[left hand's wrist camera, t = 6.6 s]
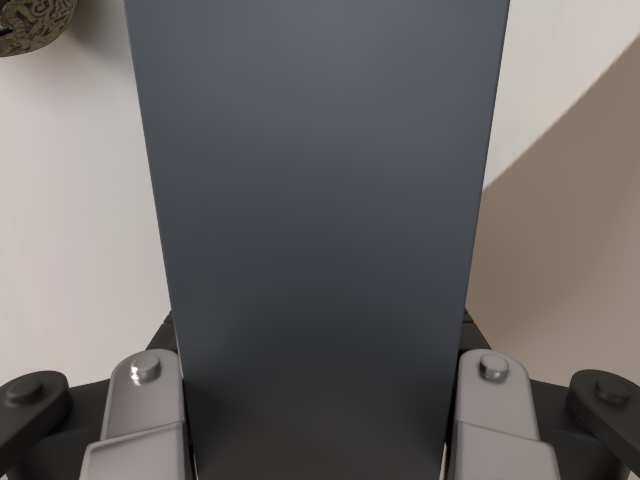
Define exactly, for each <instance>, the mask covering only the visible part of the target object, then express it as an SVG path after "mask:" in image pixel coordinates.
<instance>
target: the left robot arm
mask: <svg viewBox="0 0 640 480" xmlns="http://www.w3.org/2000/svg"><path fill="white" fill-rule="evenodd" d="M445 443H446V452H445V461H444V473H443V480H627V479H628V476H629V474H630V471H632V472H634V473H635V474H636V475H637V476H638V477H639V478H640V387H639V386H638V385H636V384H635V383H633V382H631V381H629V380H627V379H625V378H623V377H621V376H618V375H616V374H613V373H609V372H605V371H600V370H590V369H588V370H581V371H578V372H576V373H575V374H574V375H573V376H572V378H571V382H570V385H569V388H568V387H564V386H559V385H554V384H550V383H545V382H540V381H536V380H532V379H529V375H528V372H527V370H526V369H525V367H524V366H523V365H522V364H521V363H520V362H518V361H517V360H516V359H514V358H512V357H511V356H509V355H506V354H504V353H501V352H498V351H494V350H492V349H491V347H490V346H489V344H488V343H487V341H486V340H485V338H484V336H483V335H482V333H481V332H480V330H479V329H478V327H477V325H476V324H475V323H474V321H473V319H472V318H471V316H470V315H469V314H468V311H467V310H466V308H465V309H464V316H463V322H462V329H461V336H460V343H459V349H458V356H457V363H456V370H455V376H454V383H453V390H452V397H451V403H450V410H449V417H448V424H447V430H446V437H445ZM5 473H6V475H7V478H8V480H197V473H196V464H195V457H194V451H193V444H192V438H191V431H190V425H189V419H188V412H187V406H186V399H185V393H184V387H183V380H182V374H181V367H180V361H179V354H178V348H177V342H176V335H175V329H174V322H173V316H172V309H171V311H170V312H169V315H168V316H167V317H166V319H165V320H164V324H162V325H161V326H160V328H159V330H158V331H157V333H156V334H155V336H154V337H153V339H152V340H151V342H150V343H149V345H148V347H147V348H146V350H145V351H142V352H139V353H136V354H134V355H131V356H129V357H128V358H126V359H124V360H123V361H122V362H120V363H119V364H118V365H117V366H116V367H115V369H114V370H113V372H112V375H111V378H110V379H107V380H103V381H99V382H95V383H90V384H86V385H81V386H76V387H72V388H69V385H68V381H67V378H66V376H65V375H64V374H62V373H60V372H57V371H38V372H34V373H30V374H26V375H23V376H21V377H18V378H16V379H14V380H11V381H9V382H8V383H6V384H4V385H3V386H1V387H0V478H1V477H2V476H3V475H4V474H5Z"/></svg>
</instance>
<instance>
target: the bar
mask: <svg viewBox="0 0 640 480" xmlns="http://www.w3.org/2000/svg"><path fill="white" fill-rule="evenodd" d="M123 1H124V8H125V14H126V20H127V27H128V33H129V40H130V46H131V53H132V59H133V65H134V72H135V78H136V85H137V91H138V98H139V104H140V110H141V117H142V123H143V130H144V136H145V142H146V149H147V155H148V162H149V168H150V175H151V181H152V187H153V194H154V200H155V207H156V213H157V220H158V226H159V232H160V239H161V245H162V252H163V258H164V265H165V271H166V277H167V284H168V290H169V297H170V303H171V309H172V316H173V322H174V329H175V335H176V342H177V348H178V354H179V361H180V367H181V374H182V380H183V387H184V393H185V399H186V406H187V412H188V419H189V425H190V431H191V438H192V444H193V451H194V457H195V464H196V470H197V476H198V480H439V477H440V471H441V464H442V457H443V451H444V444H445V437H446V430H447V424H448V417H449V410H450V403H451V397H452V390H453V383H454V376H455V370H456V363H457V356H458V349H459V343H460V336H461V329H462V322H463V316H464V309H465V302H466V295H467V289H468V282H469V275H470V268H471V262H472V255H473V248H474V241H475V235H476V228H477V221H478V214H479V208H480V201H481V194H482V187H483V181H484V174H485V167H486V160H487V154H488V147H489V140H490V133H491V127H492V120H493V113H494V106H495V100H496V93H497V86H498V79H499V73H500V66H501V59H502V52H503V46H504V39H505V32H506V25H507V19H508V12H509V5H510V0H123Z"/></svg>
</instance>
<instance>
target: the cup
mask: <svg viewBox="0 0 640 480" xmlns="http://www.w3.org/2000/svg"><path fill="white" fill-rule="evenodd" d="M77 4H78V0H0V57H8V56H14V55H19V54H24V53H28V52H32V51H34V50H37V49H40V48H42V47H44V46H46V45H48V44H50V43H51V42H53V41H54V40H55V39H56V38H57V37H58V36H59V35H60V34H61V33H62V32H63V31H64V30H65V29H66V27H67V26H68V24H69V23H70V21H71V19H72V16H73V14H74V11H75V9H76V7H77Z"/></svg>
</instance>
